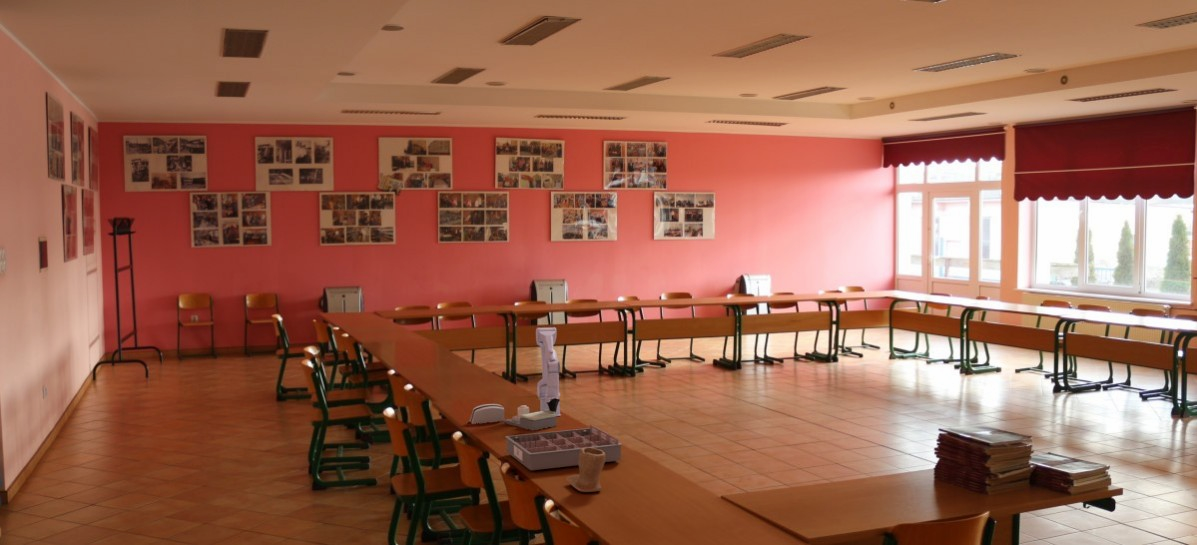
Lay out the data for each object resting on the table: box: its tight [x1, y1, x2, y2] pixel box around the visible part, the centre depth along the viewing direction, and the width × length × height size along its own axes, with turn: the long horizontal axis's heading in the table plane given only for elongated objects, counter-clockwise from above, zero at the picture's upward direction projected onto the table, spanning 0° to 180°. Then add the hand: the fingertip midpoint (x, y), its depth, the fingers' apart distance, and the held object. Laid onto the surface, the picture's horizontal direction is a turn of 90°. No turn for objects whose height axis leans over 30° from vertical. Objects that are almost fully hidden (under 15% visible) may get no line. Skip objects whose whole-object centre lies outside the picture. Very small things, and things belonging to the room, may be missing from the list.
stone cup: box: [566, 447, 606, 493], centre depth 345 cm, size 15×12×15 cm
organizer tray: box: [504, 423, 623, 471], centre depth 387 cm, size 32×40×10 cm
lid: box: [520, 410, 558, 421], centre depth 445 cm, size 14×10×2 cm
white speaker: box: [469, 403, 506, 425], centre depth 455 cm, size 17×5×10 cm, turn 115°
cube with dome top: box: [517, 404, 530, 418], centre depth 453 cm, size 4×4×7 cm
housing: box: [504, 415, 557, 432], centre depth 449 cm, size 14×22×4 cm, turn 42°
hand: (552, 414), depth 451 cm, fingers closed
